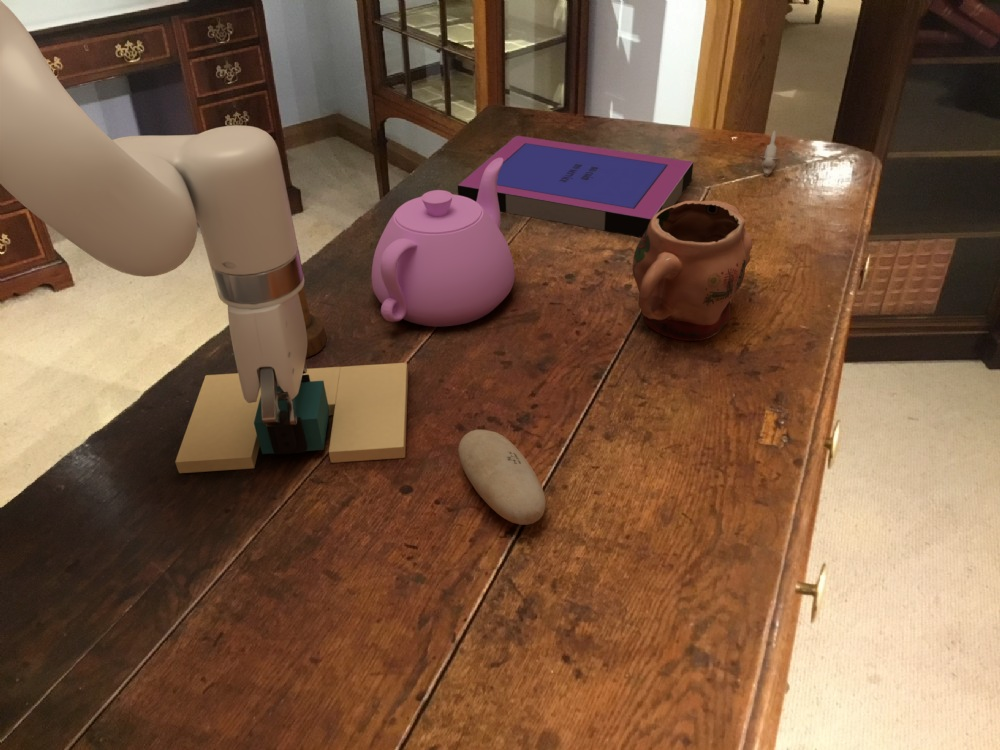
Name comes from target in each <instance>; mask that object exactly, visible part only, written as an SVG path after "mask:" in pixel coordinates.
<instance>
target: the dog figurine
mask: <svg viewBox="0 0 1000 750" xmlns="http://www.w3.org/2000/svg"><path fill="white" fill-rule="evenodd" d="M776 140H777V131H776V130H773V131H772V133H771V136H770V143H769V144H767V146H766V147H765V151H764V155H763V156H760V155H759V156H758V158H760V159H761V160H762V162H761V169H762V171H763V174H764V176H765V177H766V178H768V176H769V175H770V174H771V173H772V171H774V169H775V168H776V165H777V164H776V162H777V161H779V160H780V159H781V158H780V157H777V150H778V148H777V144H775V143H776Z"/></svg>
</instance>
